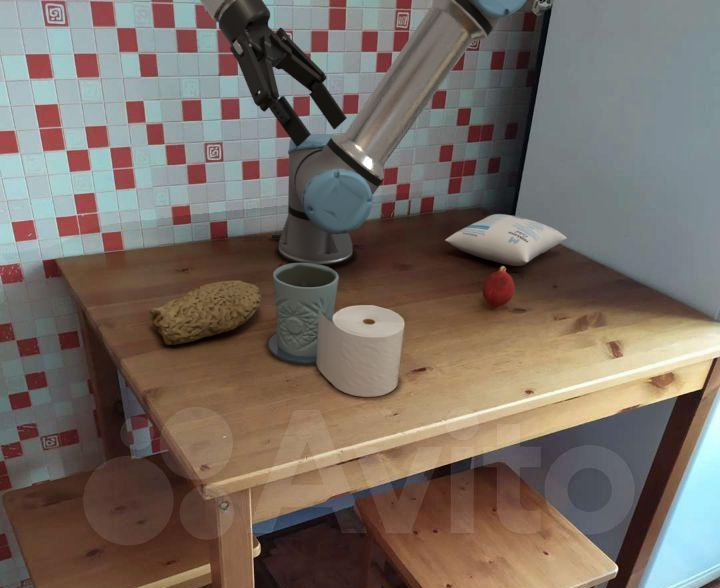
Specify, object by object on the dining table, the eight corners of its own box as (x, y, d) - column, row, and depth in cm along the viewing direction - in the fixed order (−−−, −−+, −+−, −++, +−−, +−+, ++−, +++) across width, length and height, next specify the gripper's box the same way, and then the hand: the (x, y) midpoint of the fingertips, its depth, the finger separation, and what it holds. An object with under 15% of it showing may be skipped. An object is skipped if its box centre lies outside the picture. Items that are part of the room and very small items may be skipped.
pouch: (493, 199, 170) (448, 216, 156) (571, 224, 162) (532, 244, 148) (485, 234, 174) (441, 254, 161) (561, 260, 167) (522, 282, 153)
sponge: (176, 363, 119) (286, 317, 126) (158, 317, 115) (273, 272, 121) (151, 341, 129) (254, 300, 136) (134, 298, 125) (242, 257, 131)
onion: (509, 316, 139) (518, 275, 134) (478, 312, 140) (485, 270, 135) (510, 304, 144) (519, 263, 139) (480, 299, 145) (488, 259, 140)
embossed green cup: (287, 363, 118) (288, 291, 111) (263, 335, 125) (262, 265, 118) (345, 353, 122) (350, 282, 115) (318, 326, 129) (321, 258, 122)
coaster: (255, 353, 121) (255, 350, 121) (288, 325, 130) (288, 322, 129) (321, 371, 118) (321, 368, 118) (350, 342, 127) (350, 338, 126)
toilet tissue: (405, 396, 114) (413, 335, 108) (327, 400, 111) (330, 338, 105) (388, 361, 122) (394, 303, 116) (315, 364, 120) (317, 305, 114)
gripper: (260, 19, 125) (338, 131, 130) (174, 33, 106) (270, 164, 111) (289, -16, 120) (369, 102, 125) (205, -7, 101) (303, 131, 106)
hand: (323, 132), depth 118 cm, fingers open, 13 cm apart
